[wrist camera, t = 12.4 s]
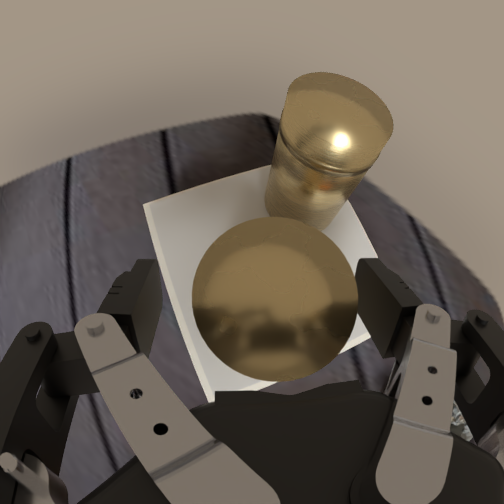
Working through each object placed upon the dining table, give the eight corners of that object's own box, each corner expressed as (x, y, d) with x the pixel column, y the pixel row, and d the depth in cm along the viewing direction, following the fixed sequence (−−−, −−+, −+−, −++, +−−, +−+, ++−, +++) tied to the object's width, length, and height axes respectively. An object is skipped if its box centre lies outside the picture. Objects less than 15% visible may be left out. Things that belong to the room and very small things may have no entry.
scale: (215, 393, 22) (210, 408, 15) (159, 234, 26) (139, 194, 19) (365, 328, 25) (409, 316, 18) (300, 189, 29) (318, 142, 22)
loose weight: (227, 381, 16) (228, 410, 7) (196, 299, 17) (167, 246, 9) (309, 348, 17) (383, 338, 8) (276, 270, 18) (317, 197, 10)
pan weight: (282, 246, 19) (322, 160, 10) (252, 180, 20) (267, 77, 12) (348, 222, 20) (413, 140, 11) (316, 163, 21) (355, 69, 13)
